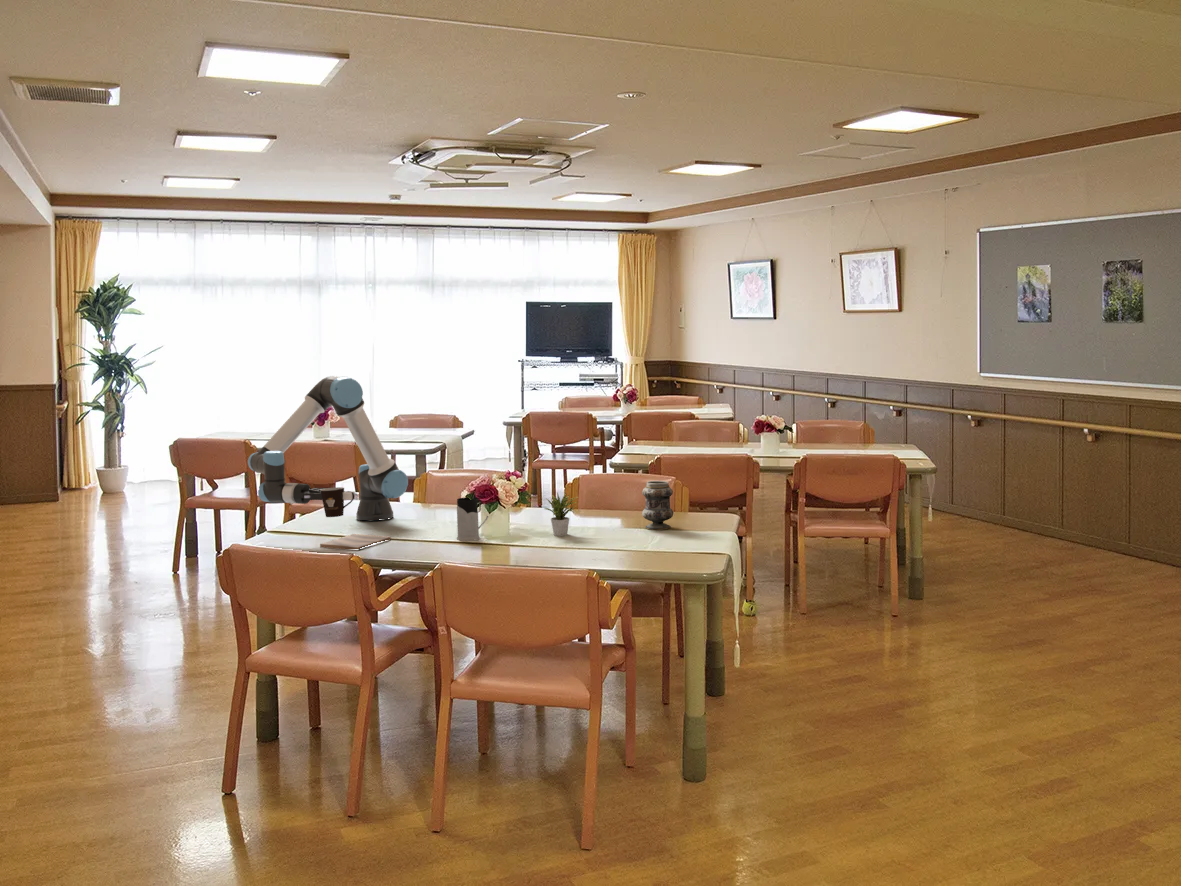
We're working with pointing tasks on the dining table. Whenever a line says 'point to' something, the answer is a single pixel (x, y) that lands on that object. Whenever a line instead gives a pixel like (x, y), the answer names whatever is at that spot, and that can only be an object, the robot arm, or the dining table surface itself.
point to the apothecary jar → (657, 504)
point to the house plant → (560, 515)
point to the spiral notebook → (354, 541)
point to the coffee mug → (334, 501)
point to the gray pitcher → (468, 519)
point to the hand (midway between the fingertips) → (352, 495)
